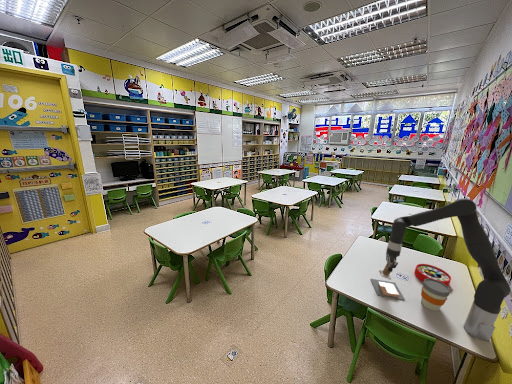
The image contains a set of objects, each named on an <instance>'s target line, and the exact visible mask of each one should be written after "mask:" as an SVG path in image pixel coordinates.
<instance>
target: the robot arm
mask: <svg viewBox="0 0 512 384" xmlns="http://www.w3.org/2000/svg"><path fill="white" fill-rule="evenodd" d="M455 217H457V219H458V221H459V224H460V226H461V232H462V237H463V240H464V243H465V246H466V249H467V251H468V254H469V255H470V256H471V258H472V259H473V260H474V261H475V262H476V263H477V264H478V266H479V268H480V270H481V272H482V276H483V280H481V281H480V282H479V283H478V284H477V287H476V289H475V293H474V296H473V301H472V304H471V307H470V309H469V311H468V314H467V317H466V319H465V322H464V323H463V329H464V330H465V331H466V332H467V333H468V334H469V335H471V336H472V337H473V338H474V339H477V340H480V341H481V340H482V341H487V342H490V340H491V339H492V336H493V334H494V331H495V329H496V326H495V323H496V322H497V319H498V317H499V315H500V313H501V310H502V303H503V301H504V299H505V298H507V297H508V296H509V295H510V294H511V286H510V284H509V282H508V281H507V279H506V276H505V275H504V273H503V271H502V270H501V267H500V265H499V261H498V259H497V256H496V254H495V251H494V248H493V246H492V243H491V241H490V239H489V237H488V235H487V233H486V230H484V227H483V226H482V225H481V223H480V220H479V218H478V214H477V204H476V203H475V202H474V201H473V200H472V199H470V198H466V197H465V198H463V197H462V198H457V199H455V200H454V201H453V202H451V203H449V204H446V205H444V206H441V207H438V208H434V209H430V210H425V211H422V212H421V211H420V212H417V213H415V214H412V215H406V216H400V217H397V218H395V219H394V220H393V222H392V227H391V233H390V236H389V240H388V242H387V246H386V247H387V248H386V251H385V252H386V253H385V261H386V264H387V263H388V261H389V263H390V264H389V269H388V271H389V272H391V273H393V269H396V268H397V266H398V264H399V262H398V261H397V258H398V257H400V256H401V252H402V248H403V241H404V235H405V233H406V231H407V230H406V229H407V227H411V226H413V227H420V226H423V225H427V224H430V223H434V222H436V221H441V220H444V219H450V218H455Z"/></svg>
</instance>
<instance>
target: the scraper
mask: <svg viewBox="0 0 512 384" xmlns="http://www.w3.org/2000/svg"><path fill="white" fill-rule="evenodd" d="M389 264H390V263H389V261H388V263H387V262H386V265H385V266H384V268H383V270H382V269H379V270H378V272H379V275H380V276H381V277H382V278H384V279H387V280H392V277H391V275H390V274H391V273H392V272H389V271H388V269H389Z"/></svg>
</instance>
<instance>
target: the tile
mask: <svg viewBox="0 0 512 384" xmlns="http://www.w3.org/2000/svg"><path fill="white" fill-rule="evenodd" d="M378 285H379V287H380V289H381V291H382V293H383V295H388V296H394V297H399V294H398V292H397V290H396V288H395V286H394V285H393V284H389V283H383V282H379V283H378Z"/></svg>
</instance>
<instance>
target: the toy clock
mask: <svg viewBox="0 0 512 384" xmlns="http://www.w3.org/2000/svg"><path fill="white" fill-rule="evenodd" d="M414 275H415V277H416V278H417V279H418V280H419V281H420V282H422V283H423V281H424V280H425V279H428V278H429V279H434V280H437V281H440V282H442V283H444V284H445V285H446V286H448V288H450V287H449V286H450V284H451V280H452V277H451V274H449V273H448V272H447V271H445V270H444V269H442V268H440V267H438V266H436V265H435V266H434V265H431V264H428V263H418V264H416V266H415V268H414Z"/></svg>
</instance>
